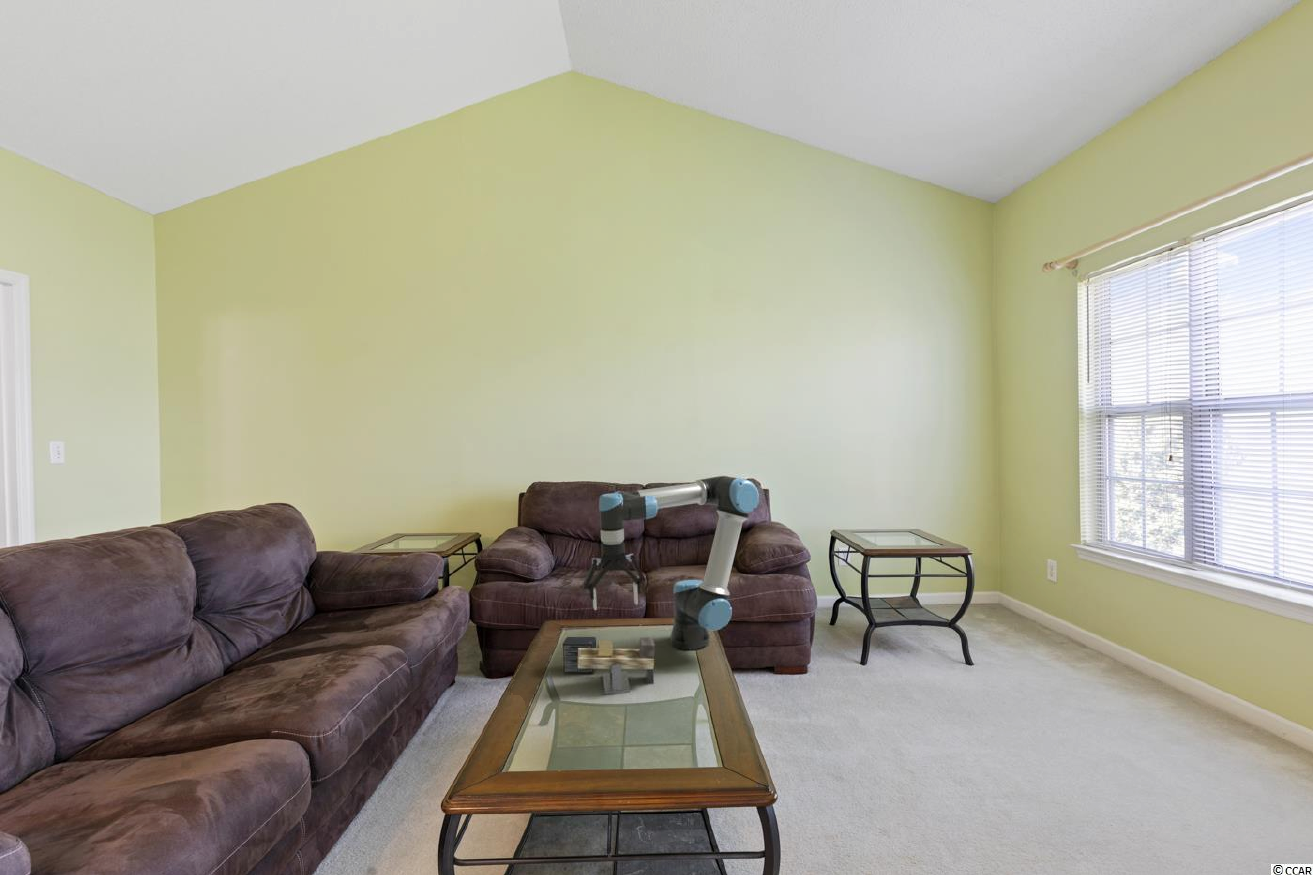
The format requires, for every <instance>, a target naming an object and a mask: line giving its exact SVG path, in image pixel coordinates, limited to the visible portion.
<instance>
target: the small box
mask: <svg viewBox="0 0 1313 875" xmlns="http://www.w3.org/2000/svg"><path fill="white" fill-rule="evenodd" d="M578 648H597V637H596V636H566V638H565V640H564V641H563V642H562V656H563V657H562V658H563V674H569V675H570V674H571V675H573V674H574V675H576V674H578V675H579V674H580V675H581V674H585V675H586V674H587V675H593V674H595V671H596V669H597V668H578Z"/></svg>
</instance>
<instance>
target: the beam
mask: <svg viewBox="0 0 1313 875" xmlns="http://www.w3.org/2000/svg"><path fill="white" fill-rule="evenodd" d="M655 647H656V644H655V641H654V639H653V638H652V637H640V638H639V648H618V649H616V648H613V653H612V658H597V649H598V647H596V648H578V668H596V669H602V670H603V669H604V670H605V669H606V670H607V669H609V670H610V669H612V664H618V663H621V667H622V670H623V669H624V670H645V669H653V670H654V666H655V664H654V663H655V658H654V657H655V650H656V649H655Z"/></svg>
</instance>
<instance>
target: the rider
mask: <svg viewBox="0 0 1313 875" xmlns="http://www.w3.org/2000/svg"><path fill="white" fill-rule="evenodd" d="M597 642H598V643H597V648H598V649H597V658H612V653H613V649H614V645H613V641H611V640H610V641H609V640H598V641H597Z"/></svg>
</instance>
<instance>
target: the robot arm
mask: <svg viewBox="0 0 1313 875" xmlns="http://www.w3.org/2000/svg"><path fill="white" fill-rule="evenodd" d="M759 501H760V494H759V490H758V489H757V487H756V485H755V484H754V483H753V482H752V481H750V480H748V479H746V478H741V477H734V476H733V477H732V476H727V475H720V476H719V475H717V476H713V477H707V478H702V479H701V478H700V479H697V480H695V481H694V483H693V482H692V483H685V484H677V485H670V486H663V487H662V486H661V487H655V488H647V489H639V490H638V489H637V490H632V491H623V490H620V491H619V490H618V491H615V492H613V493H612V492H611V493H604V494H602V495H600V496H599V502H598V510H599V522H600V525H599V526H600V540H601V544H600V545H601V546H600V547H601V549H600V551H601V557H600V558H597V557H592V559H591V566H590V568H589V570H588V573H587V575H586V577H585V580H584V582H583V584H582V586H583V588H584V590H585V589H586V590H588V591H589V592H588V596H589V599H590V600H592V608H593V610H594V611H597V610H598V607H597V602H598V601H597V589H596V588H595V587H596V586H597V585H598V583H599V582H600V581H601V579H602V578H603V576H605V574H606V573H607V572H608V571H609V572H613V571H620V570H621V569H622V570H623V571H624V572H625V573H626V574H627V575H628V576H629V577H630V578H631V579H632V580H633V581H634V582H633V583H632V586H633V587H632V590H633V603H634V604H635V605H639V598H638V597H639V596H638V595H639V594H640V593H641V585H642V583H644V582H645V581H646V580H647V579H646V577H645V575H644V574H643V572H642V570H641V568H640V567H639V565H638V563H637V562H636V556H635V555H634V554H633V553H632V552H631V553H629V554H627V555H626V553H625V542H624V540H625V528H624V527H625V526H624V524H625V523H627V522H633V521H634V522H635V521H642V520H649V519H652V518H654V517H656V516H657V514H658V511H659V509H664V508H665V509H666V508H672V507H679V506H686V505H692V504H698V505H699V506H703V505H711V506H717V508H716V513H717V514H718V521H717V525H716V528H715V532H714V538H713V541H712V544H711V550H710V553H709V558H708V561H707V565H706V570H705V573H704V578H703V580H701V579H685V580H680V581H678V582H676V583H674V585H673V590H672V592H673V593H672V594H673V613H674V614H673V616H674V621H673V622H674V623H673V625H672V629H671V632H670V638H669V639H670V641H669V642H670V644H671V646H673V647H674V648H677V649H680V650H685V649H689V651H693V650H692V649H695V650H699V649H698V648H701V649H703V648H702V647H704V646H706V645H708V644H709V643H711V634H710V631H711V632H713V631H715V632H716V631H719V630H721V629H723V628H724V627H726V626H727V625H728V623H729V622H730V620H731V618H732V614H733V608H732V607H731V604H730V602H729V599H730V594H731V593H730V592H729V589H728V585H729V580H730V576H731V572H732V567H733V564H734V559H735V555H736V551H737V547H738V542H739V539H740V534H741V531H742V526H743V523H744V522H746V521H748V520H749V515H750V513H752V512H754V510H755V509H757V508H758V504H759ZM626 561H629V562H630V563H631V564H632V567H633V568H634V569H635V571H636V573H637V575H638V576H636V575H635V574H634V573H633V571H631V570H630V569H629V568H628V567H627V566H626V565H625V563H626ZM599 564H602V566H601V568H600V570H599V571H598V573H596V575H595V576H594V574H595V572H596V569H597V566H599ZM593 576H594V578H593ZM709 645H710V644H709ZM709 645H708V646H709ZM706 647H707V646H706ZM704 648H705V647H704Z"/></svg>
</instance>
